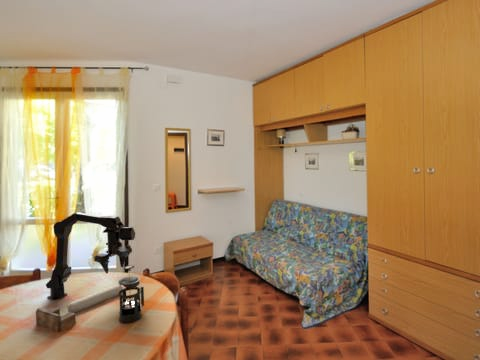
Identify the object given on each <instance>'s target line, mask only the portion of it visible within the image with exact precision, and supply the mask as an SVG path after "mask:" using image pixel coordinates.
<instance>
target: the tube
mask: <svg viewBox="0 0 480 360" xmlns="http://www.w3.org/2000/svg"><path fill="white" fill-rule="evenodd" d="M122 289H124V288H123V285H120V284H119V283H117V284H116V285H112V286H111V287H107V288H105V289H102V290H99V291H97V292H95V293H92V294H90V295H87V296H84V297H82V298H78V299H77V300H73V301H71V302H70V303H69V304H68V305H67V306H66V308H67V313H69V312H72V313H75V314H76V313H78V312H81V311H83V310H85V309H87V308H90V307H93V306H94V305H95V306H96V304H100V303H101V302H102V303H103V302H104V301H107V300H109V299H113V298H114V297H117V296H119V291H121V290H122ZM120 295H122V293H121V294H120Z"/></svg>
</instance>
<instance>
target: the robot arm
mask: <svg viewBox="0 0 480 360" xmlns="http://www.w3.org/2000/svg"><path fill="white" fill-rule="evenodd" d="M78 222H83V223H89V224H96V225H100V226H101V227H103V228H104V229H103V231H102V233H103V234H105V233H106V234H107V242H106V243H105V245H106V246H107V250H105V253H100V254H97V255H95V256H94V259H93V261H94V262H96V263H99V264H100V266H101V268H102V269H103V271H104V272H105V274H109V263H110V258H112V257H114V256H118V259H119V264H120V267H121V268H124V265H125V263H126V262H125V261H126V259H127V257H128V256H129V255H130V254H132V253H133V249H132V247H131V244H125V245H123V243H122V241H134V240H135V238H136V231H135V229H134V226H125V224H124V223H123V222H122V221H121V218H120V216H118V215H99V214H91V213H84V212H81V211H77V212H74V213H73V212H72V214H71V215H69V216H67V217H65V218H64V219H62V220H60V221H57V222H55V223H54V225H53V233H54V235H55V236H54V237H56V253H55V255H56V256H55V266H54V268H53V270H52V273H51V277H50V280H49V281H48V282H47V283H46V284H45V287H46V289H49V291H50V292H49V296H46V297H47V299H49V300H54V301H56V300H59V299H60V298H63V297H65V296H67V295H68V293H66V292H65V284H64V283H66V282H67V280H68V278H70V276H71V274H72V266H69V265H68V247H69V236H70V234H71V233H72V230H73V225H75V224H76V223H78Z"/></svg>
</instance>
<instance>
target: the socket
mask: <svg viewBox="0 0 480 360" xmlns="http://www.w3.org/2000/svg"><path fill="white" fill-rule="evenodd" d="M35 320H36V321H35V322H36V323H35V324H36V326H39V327H41V328H43V329H47V330H50V331H53V332H54V333H59V332H61V331H63V330H66V329H67V328H69V327H70V326H72V325H75V324H76V323H77V322H76V312H75V313H72V312H67V313H65V314H63V315H61V313H60V308H58V307H51V308H49V309H46V310H45V309H42V308H39V307H38V308H36V311H35Z"/></svg>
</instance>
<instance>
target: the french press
mask: <svg viewBox="0 0 480 360" xmlns="http://www.w3.org/2000/svg"><path fill="white" fill-rule="evenodd" d="M123 268H124V269H125V270H127V271H128V276H125V277H123V278H121V279H119V280H118V283H117V284H120V285H121V286H122V287H124V288H123V289H122V290H121V291H119V295H118V297H119V312H118V315H119V318H118V322H119V323H121V324H125V325H127V324H133V323H135V322H138V321H140V320H141V318H142V316H143V314H142V307H144V305H145V293H144V291H145V289H144V286H142V285H140V281H141V277H140V276H137V275H133V276H132V275H131V269H134V268H135V265H131V264H130V265H126V266H123ZM139 285H140V286H139ZM133 290H135V291H137V292H135V293H134V294H129V295H127V291H129V293H131V291H133ZM121 293H122V294H121ZM129 314H130V315H129Z"/></svg>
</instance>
